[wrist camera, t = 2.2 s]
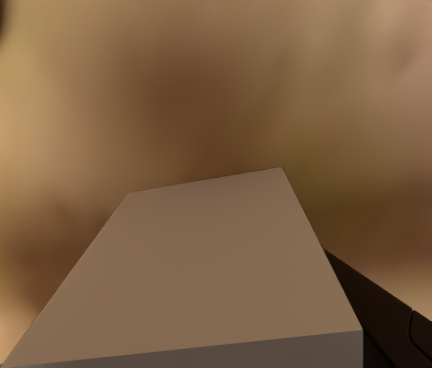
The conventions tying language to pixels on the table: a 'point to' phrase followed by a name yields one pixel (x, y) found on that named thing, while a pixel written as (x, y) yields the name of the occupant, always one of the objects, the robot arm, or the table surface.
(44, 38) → the table surface
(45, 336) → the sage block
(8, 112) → the table surface
